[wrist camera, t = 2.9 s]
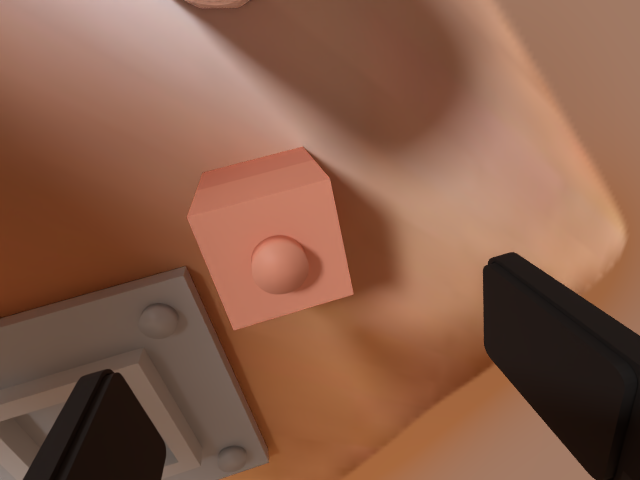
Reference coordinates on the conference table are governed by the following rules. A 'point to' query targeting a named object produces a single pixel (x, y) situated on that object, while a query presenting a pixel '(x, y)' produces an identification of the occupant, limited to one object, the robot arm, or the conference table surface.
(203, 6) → the white cup
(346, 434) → the conference table surface
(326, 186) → the pink knobbed block
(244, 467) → the baseplate
